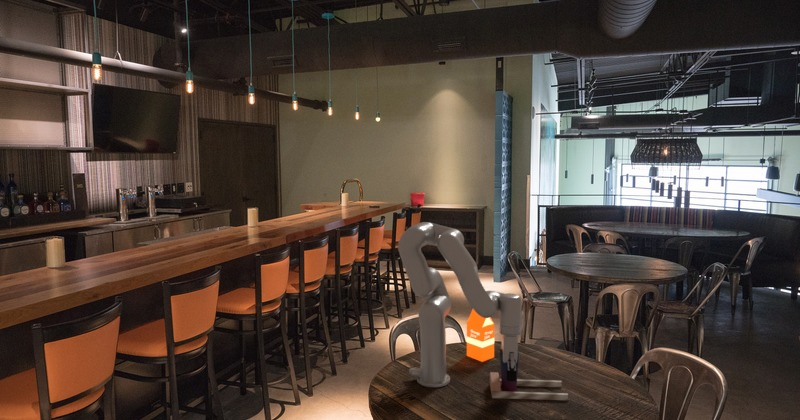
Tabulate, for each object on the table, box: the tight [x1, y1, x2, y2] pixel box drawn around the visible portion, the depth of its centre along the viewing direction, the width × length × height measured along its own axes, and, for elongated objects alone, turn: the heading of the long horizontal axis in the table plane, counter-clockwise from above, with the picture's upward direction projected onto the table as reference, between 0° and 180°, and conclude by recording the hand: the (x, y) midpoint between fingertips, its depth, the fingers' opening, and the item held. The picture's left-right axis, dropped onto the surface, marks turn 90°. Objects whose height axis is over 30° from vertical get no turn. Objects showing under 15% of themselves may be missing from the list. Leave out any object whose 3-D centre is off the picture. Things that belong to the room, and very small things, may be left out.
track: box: [489, 371, 569, 401], centre depth 185 cm, size 26×11×5 cm, turn 84°
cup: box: [499, 348, 520, 392], centre depth 185 cm, size 7×7×15 cm
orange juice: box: [466, 308, 495, 363], centre depth 217 cm, size 8×9×20 cm
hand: (509, 374), depth 185 cm, fingers open, 9 cm apart
